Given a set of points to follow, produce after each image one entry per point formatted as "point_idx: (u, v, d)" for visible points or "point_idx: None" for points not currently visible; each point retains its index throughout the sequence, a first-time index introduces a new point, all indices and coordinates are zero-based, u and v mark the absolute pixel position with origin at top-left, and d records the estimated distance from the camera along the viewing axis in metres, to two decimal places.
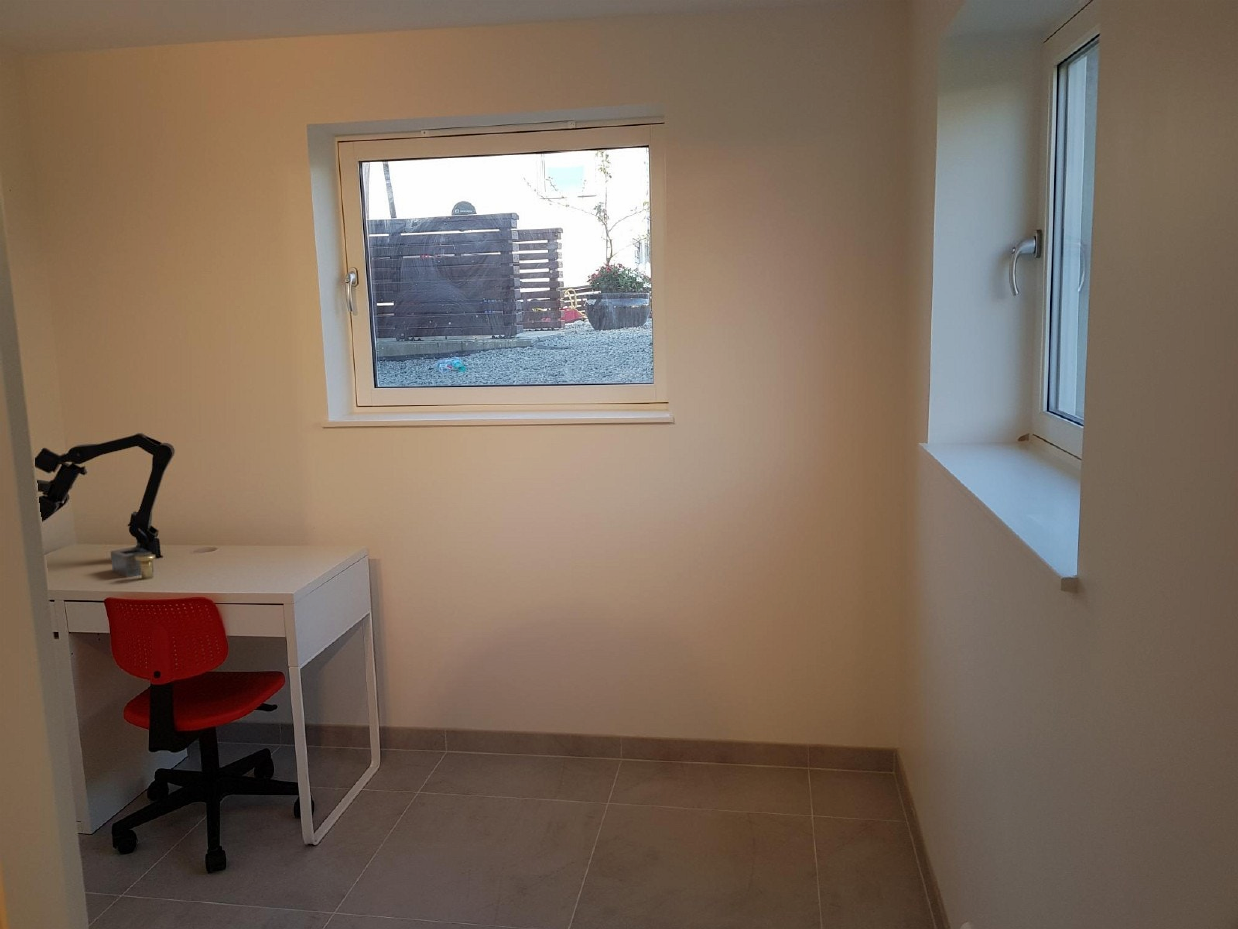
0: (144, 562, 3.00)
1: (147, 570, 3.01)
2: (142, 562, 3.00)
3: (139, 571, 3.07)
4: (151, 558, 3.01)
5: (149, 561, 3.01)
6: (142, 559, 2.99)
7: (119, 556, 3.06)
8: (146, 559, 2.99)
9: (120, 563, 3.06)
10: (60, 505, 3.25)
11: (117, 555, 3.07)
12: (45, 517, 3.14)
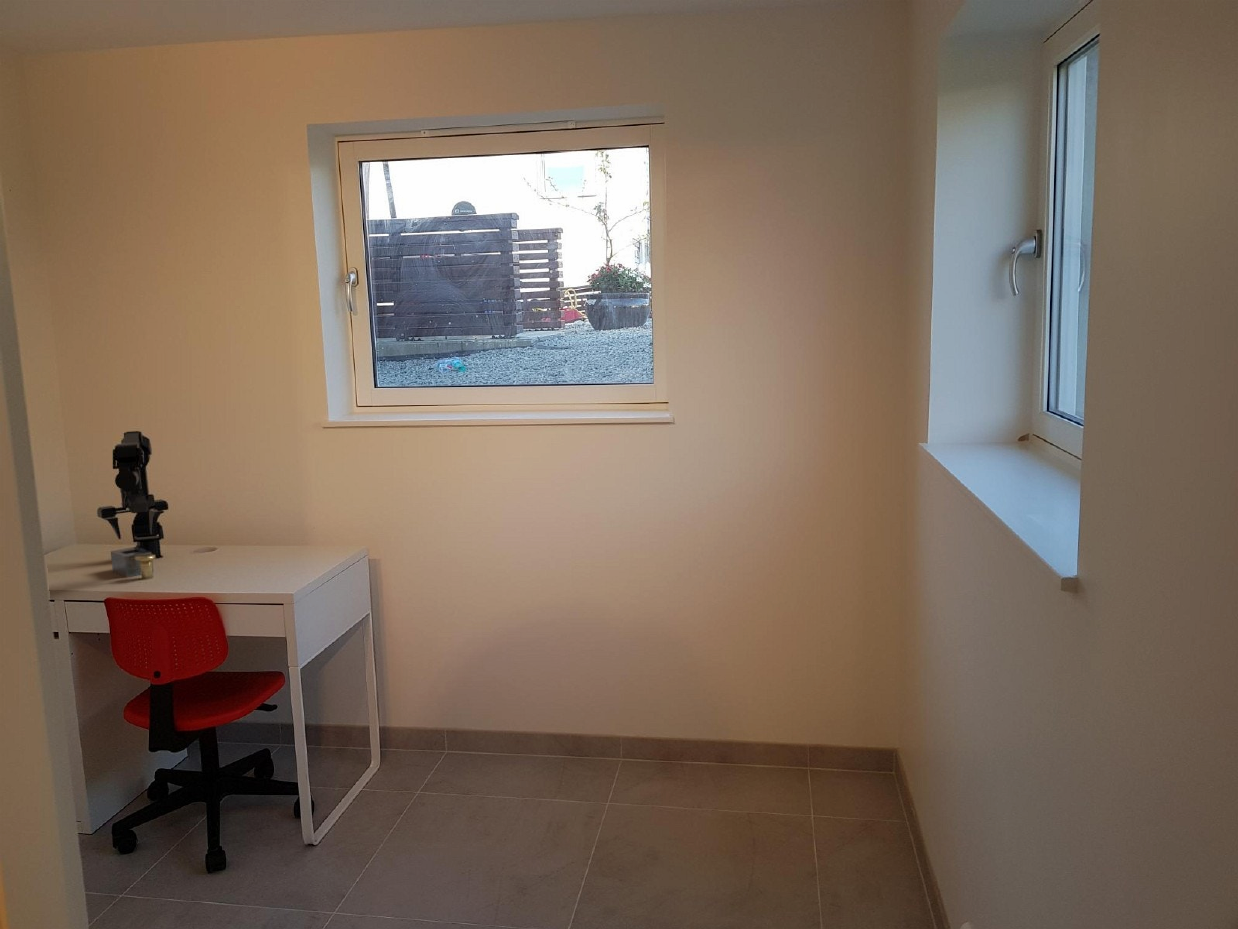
0: (144, 562, 3.00)
1: (147, 570, 3.01)
2: (142, 562, 3.00)
3: (139, 571, 3.07)
4: (151, 558, 3.01)
5: (149, 561, 3.01)
6: (142, 559, 2.99)
7: (119, 556, 3.06)
8: (146, 559, 2.99)
9: (120, 563, 3.06)
10: None
11: (117, 555, 3.07)
12: None
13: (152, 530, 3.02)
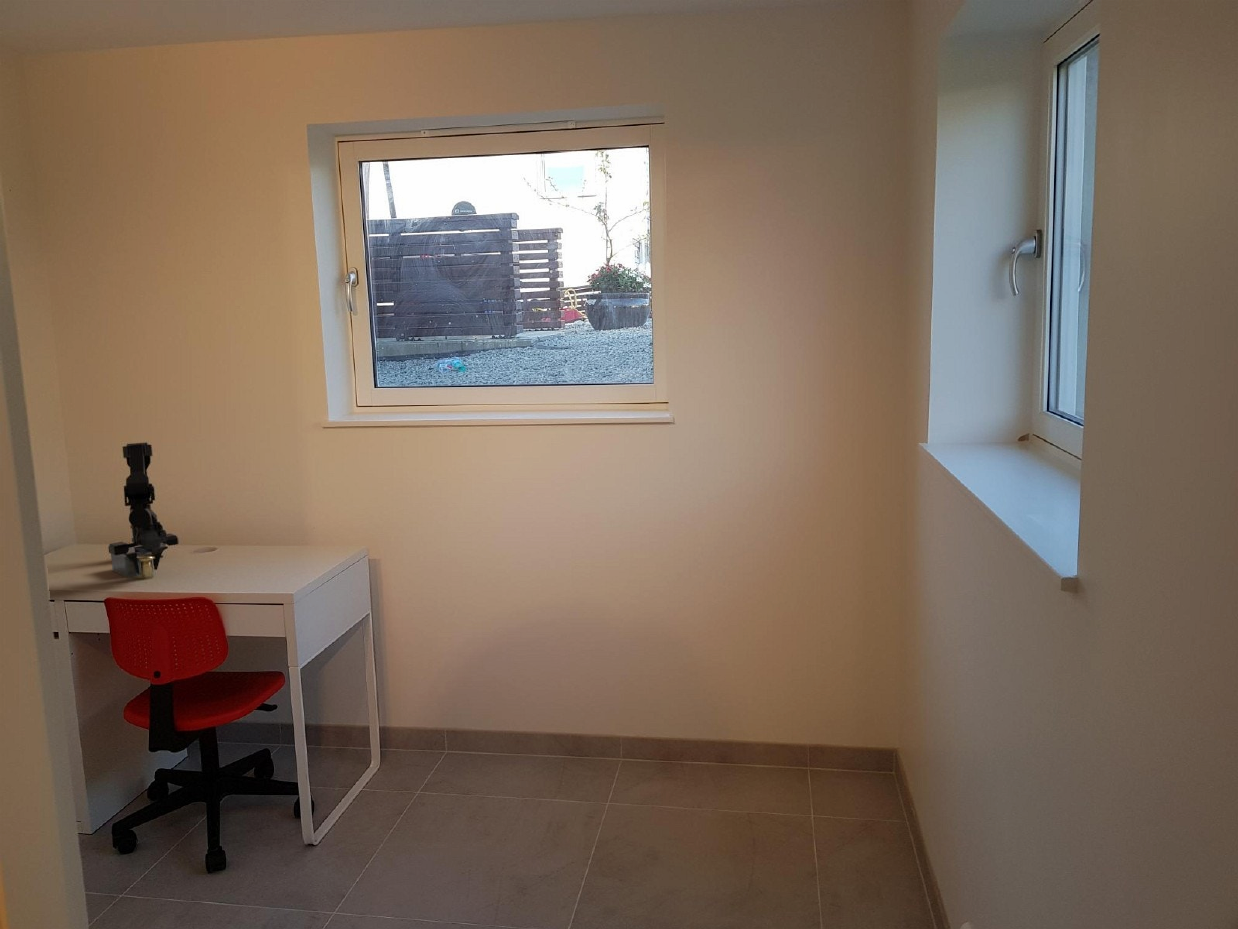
0: (144, 562, 3.00)
1: (147, 570, 3.01)
2: (142, 562, 3.00)
3: (139, 571, 3.07)
4: (151, 558, 3.01)
5: (149, 561, 3.01)
6: (142, 559, 2.99)
7: (119, 556, 3.06)
8: (146, 559, 2.99)
9: (120, 563, 3.06)
10: None
11: (117, 555, 3.07)
12: None
13: (156, 566, 3.04)
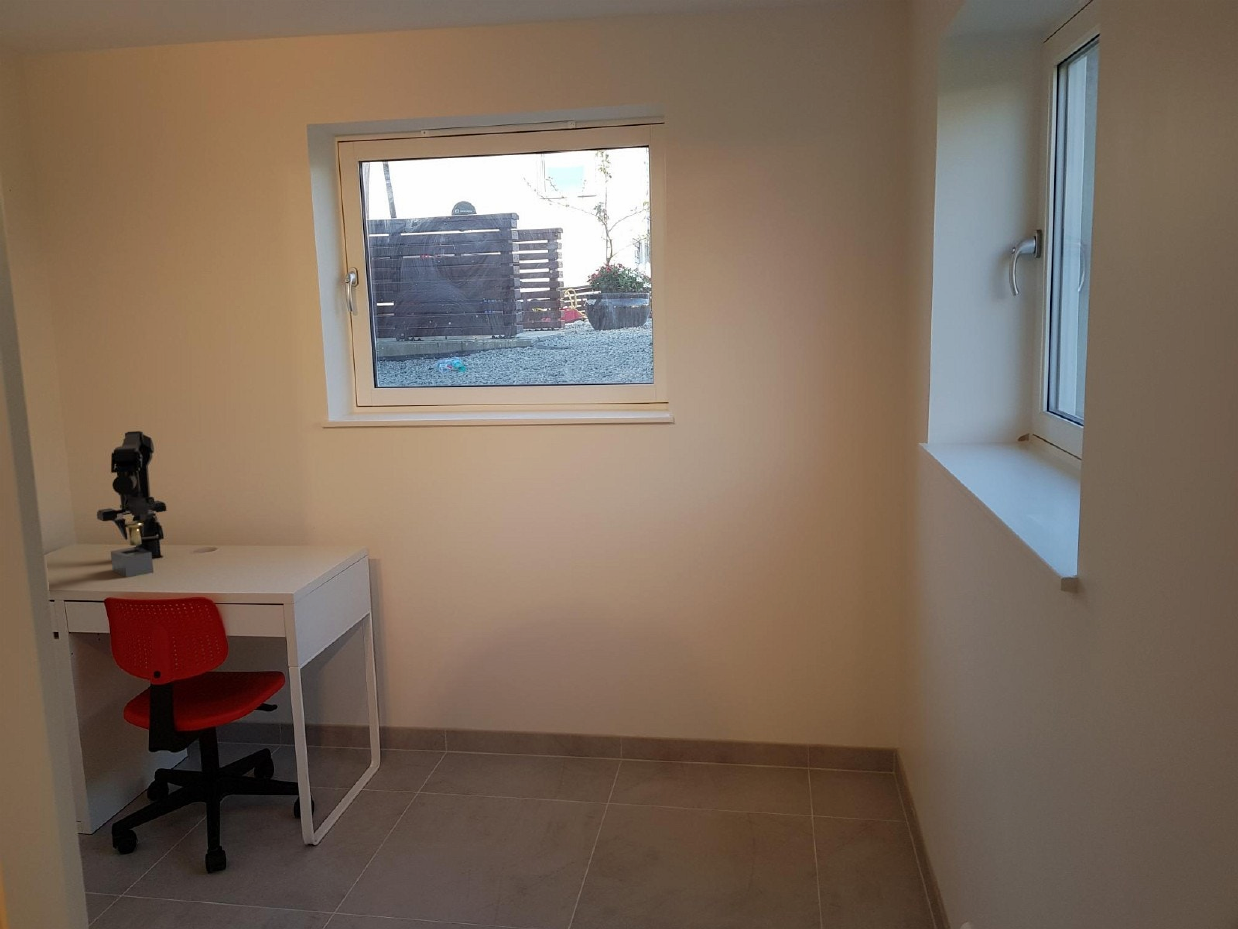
0: (132, 528, 3.04)
1: (135, 537, 3.05)
2: (130, 528, 3.04)
3: (139, 571, 3.07)
4: (139, 524, 3.05)
5: (137, 527, 3.05)
6: (130, 525, 3.03)
7: (119, 556, 3.06)
8: (134, 525, 3.03)
9: (120, 563, 3.06)
10: None
11: (117, 555, 3.07)
12: None
13: (144, 532, 3.08)
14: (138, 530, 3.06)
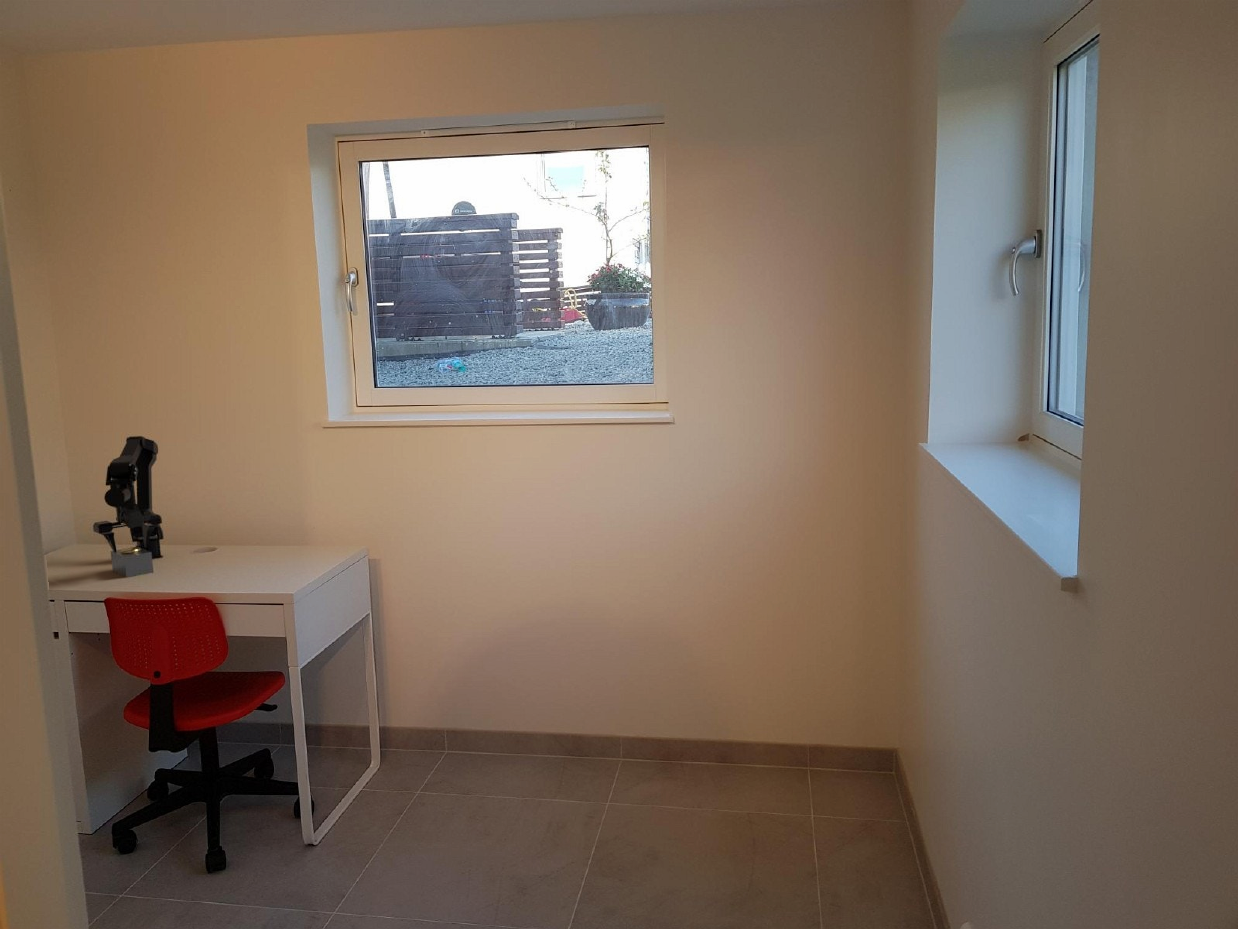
0: None
1: None
2: None
3: (139, 571, 3.07)
4: (136, 551, 3.09)
5: None
6: (127, 552, 3.07)
7: (119, 556, 3.06)
8: (131, 552, 3.08)
9: (120, 563, 3.06)
10: None
11: (117, 555, 3.07)
12: None
13: (146, 543, 3.13)
14: None
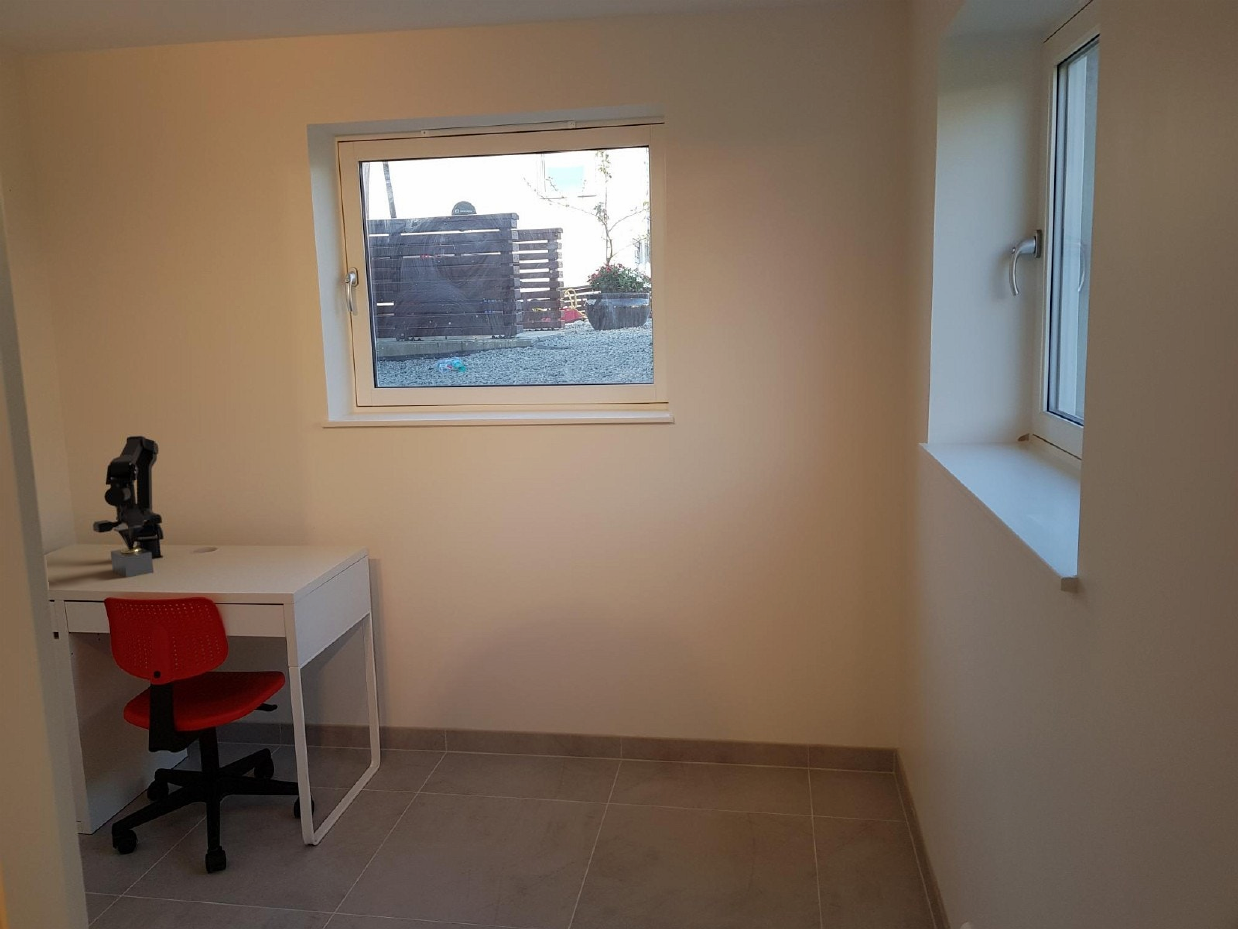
0: None
1: None
2: None
3: (139, 571, 3.07)
4: (136, 551, 3.09)
5: None
6: (127, 552, 3.07)
7: (119, 556, 3.06)
8: (131, 552, 3.08)
9: (120, 563, 3.06)
10: None
11: (117, 555, 3.07)
12: None
13: (131, 545, 3.10)
14: None
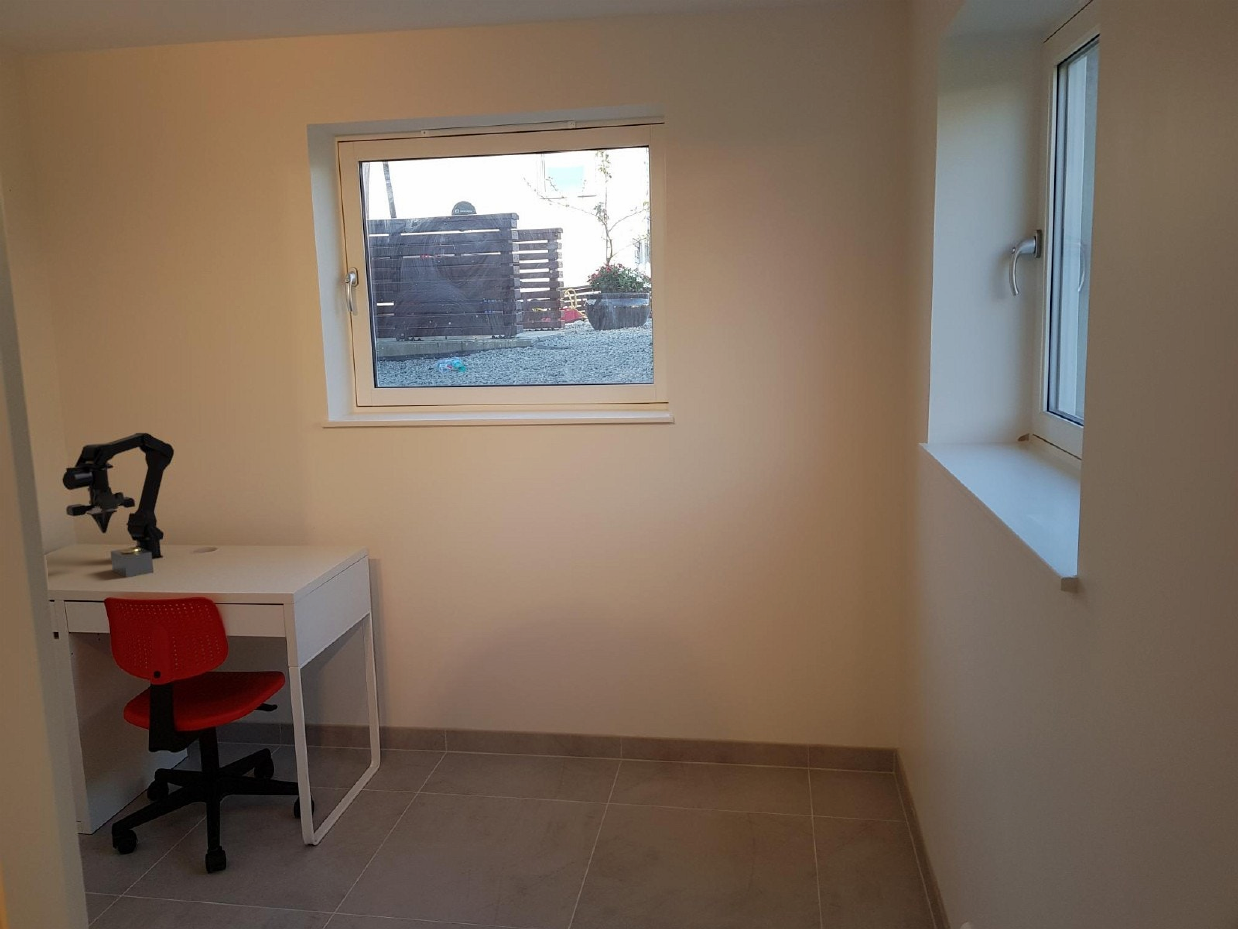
0: None
1: None
2: None
3: (139, 571, 3.07)
4: (136, 551, 3.09)
5: None
6: (127, 552, 3.07)
7: (119, 556, 3.06)
8: (131, 552, 3.08)
9: (120, 563, 3.06)
10: None
11: (117, 555, 3.07)
12: None
13: (105, 529, 3.13)
14: None
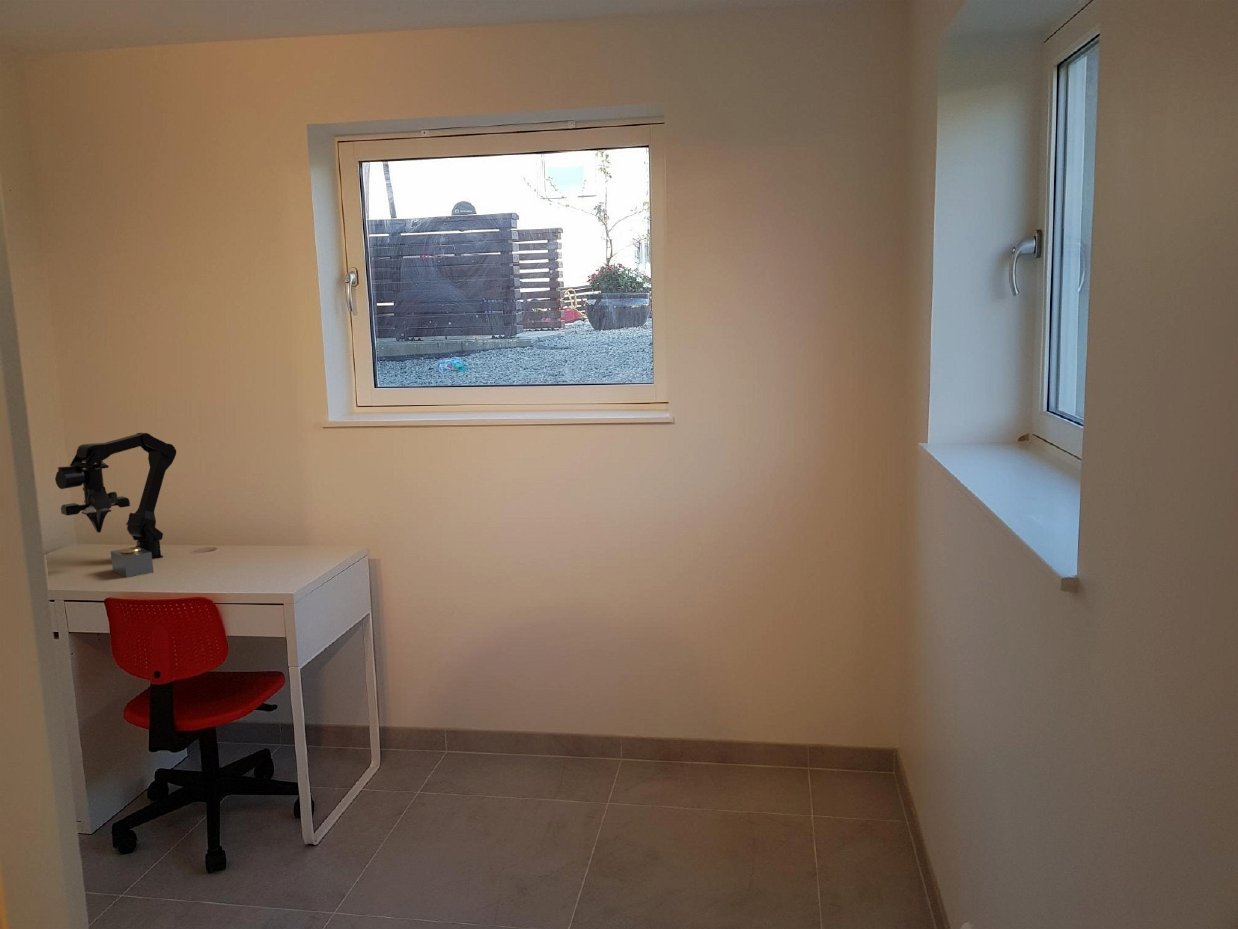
0: None
1: None
2: None
3: (139, 571, 3.07)
4: (136, 551, 3.09)
5: None
6: (127, 552, 3.07)
7: (119, 556, 3.06)
8: (131, 552, 3.08)
9: (120, 563, 3.06)
10: None
11: (117, 555, 3.07)
12: None
13: (99, 528, 3.14)
14: None
